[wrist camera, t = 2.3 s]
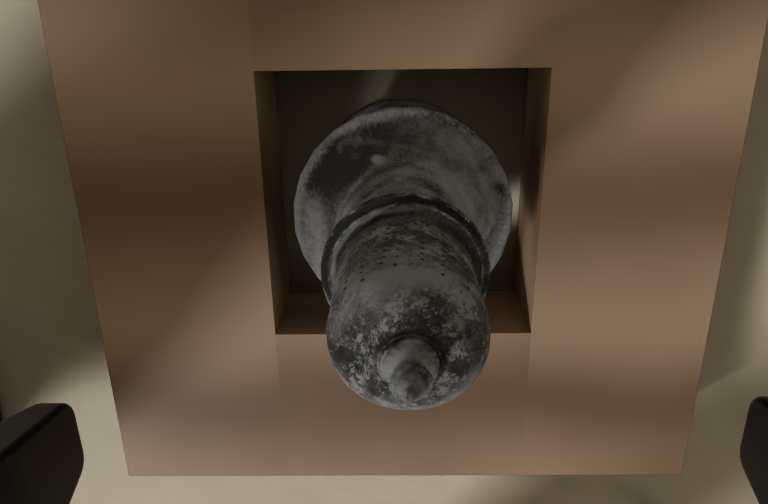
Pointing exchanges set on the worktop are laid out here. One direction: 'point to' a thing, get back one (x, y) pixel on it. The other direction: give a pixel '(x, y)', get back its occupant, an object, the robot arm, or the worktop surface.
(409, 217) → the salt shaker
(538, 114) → the socket block
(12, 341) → the worktop surface
